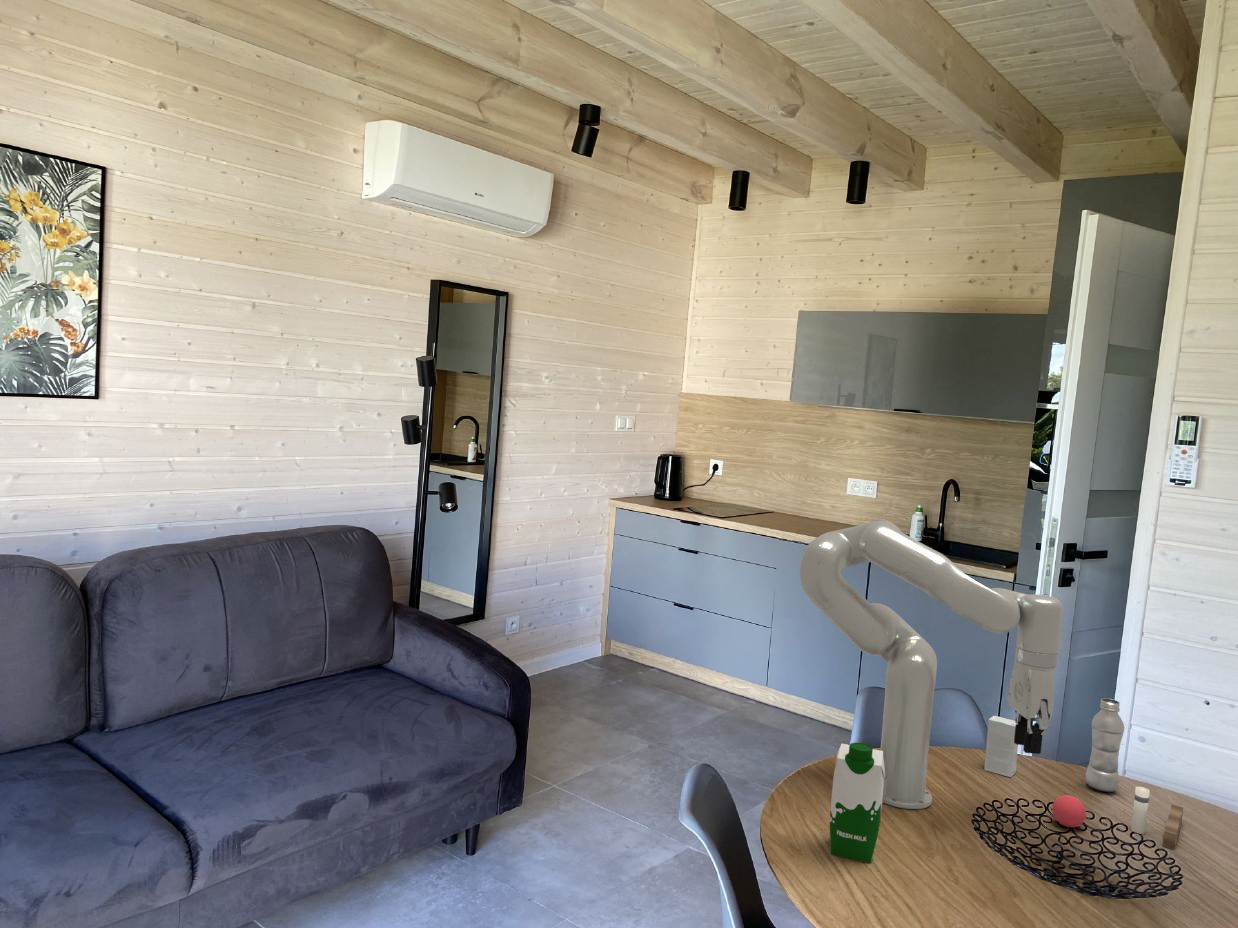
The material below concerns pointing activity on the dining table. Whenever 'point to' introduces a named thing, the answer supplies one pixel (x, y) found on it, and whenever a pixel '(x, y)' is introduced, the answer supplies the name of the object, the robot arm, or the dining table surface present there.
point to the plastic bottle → (1105, 747)
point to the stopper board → (1172, 827)
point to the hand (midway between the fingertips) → (1027, 747)
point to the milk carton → (856, 801)
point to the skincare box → (1001, 747)
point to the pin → (1140, 810)
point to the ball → (1069, 811)
